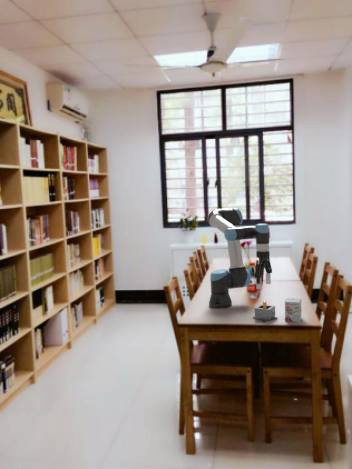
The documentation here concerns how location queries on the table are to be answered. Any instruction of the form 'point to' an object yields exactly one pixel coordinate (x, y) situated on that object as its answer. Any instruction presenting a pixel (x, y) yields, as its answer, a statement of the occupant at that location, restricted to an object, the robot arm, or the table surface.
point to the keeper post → (264, 319)
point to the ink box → (293, 310)
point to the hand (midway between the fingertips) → (263, 286)
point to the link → (265, 312)
